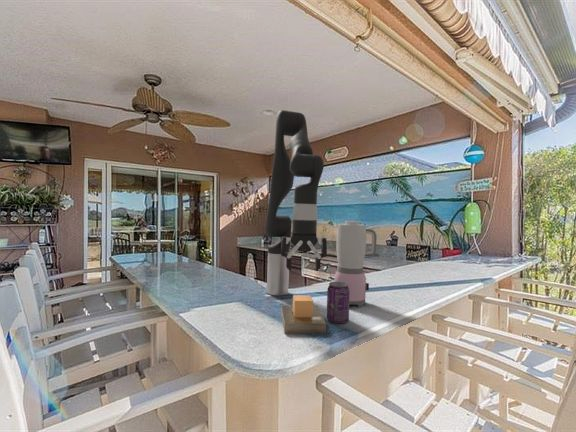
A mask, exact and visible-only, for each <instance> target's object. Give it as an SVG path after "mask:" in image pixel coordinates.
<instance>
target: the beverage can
mask: <svg viewBox="0 0 576 432" xmlns="http://www.w3.org/2000/svg"><path fill="white" fill-rule="evenodd" d="M326 292H327V296H326V297H327V298H326V320H328V321H330V323H334V324H344V323H346V322H348V321H349V318H350V317H349V316H350V304H349V293H350V290H349V288H348V284H347V283H344V282H334V281H330V282H329V283H328V287H327V290H326Z"/></svg>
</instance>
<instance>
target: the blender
mask: <svg viewBox="0 0 576 432" xmlns="http://www.w3.org/2000/svg"><path fill="white" fill-rule="evenodd" d="M335 226H336V227H337V229H336V231H337V232H336V248H335V249H336V258H337V270H336V272H335V274H334V279H333V282H344V283H347V284H348V288H349V290H350V293H349V305H357V307H358V308H363V305H364V303H366V294H367V293H366V291H369V289H370V285H369V283H368V282H367V276H366V275H365V272H364V262H365V258H366V257H370V256H375V254H376V251H377V233H376V231H375V230H373V229H369V228H367V226H366V224H359V221H358V220H357V221H356V220H345V221H344V223H338V224H335ZM367 234H370V235H371V250H370V251H369V250H366V249H367Z"/></svg>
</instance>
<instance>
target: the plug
mask: <svg viewBox="0 0 576 432" xmlns="http://www.w3.org/2000/svg"><path fill="white" fill-rule="evenodd" d="M292 306H293V314H294V317H313V306H314V300H313V298H312V296H311V295H309V294H308V295H307V294H305V295H304V294H299V295H298V294H297V295H295V294H293V295H292Z"/></svg>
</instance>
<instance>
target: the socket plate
mask: <svg viewBox="0 0 576 432" xmlns="http://www.w3.org/2000/svg"><path fill="white" fill-rule="evenodd" d="M280 307H281V309H280V311H281V312H280V314H281V315H280V316H281V322H282V328H283V333H284V334H285V335H290V334H291V335H294V334H295V335H296V334H302V335H303V334H305V335H307V334H309V335H310V334H312V335H313V334H314V335H316V334H320V335H321V334H324V335H325V334H327V322H326V320H325V318H324V317H323V315H322V313H321V311H320V309H319V308H318V306H317V305H313V317H294V314H293V305H281V306H280Z"/></svg>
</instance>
